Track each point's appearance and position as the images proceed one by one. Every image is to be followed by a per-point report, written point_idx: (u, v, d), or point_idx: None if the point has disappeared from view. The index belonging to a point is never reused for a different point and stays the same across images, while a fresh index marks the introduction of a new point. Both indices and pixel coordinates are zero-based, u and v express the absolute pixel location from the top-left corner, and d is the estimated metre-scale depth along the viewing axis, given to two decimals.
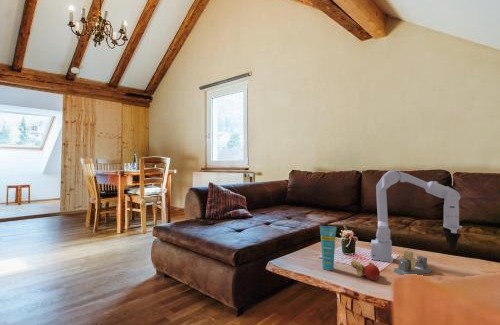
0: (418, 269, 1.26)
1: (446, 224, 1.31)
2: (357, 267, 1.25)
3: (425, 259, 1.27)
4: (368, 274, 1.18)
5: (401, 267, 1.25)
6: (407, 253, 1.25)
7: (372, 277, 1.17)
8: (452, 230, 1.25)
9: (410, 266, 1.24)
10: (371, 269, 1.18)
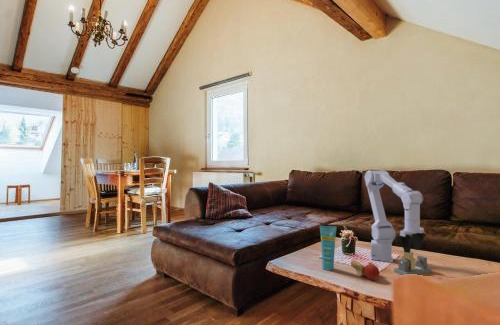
0: (418, 269, 1.26)
1: None
2: (357, 267, 1.25)
3: (425, 259, 1.27)
4: (368, 274, 1.18)
5: (401, 267, 1.25)
6: (407, 253, 1.25)
7: (372, 277, 1.17)
8: (400, 233, 1.23)
9: (410, 266, 1.24)
10: (370, 269, 1.18)
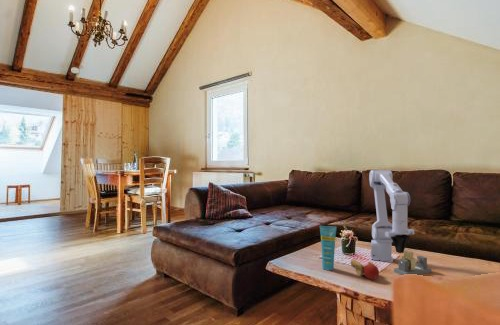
0: (418, 269, 1.26)
1: (392, 228, 1.25)
2: (356, 267, 1.25)
3: (425, 259, 1.27)
4: (367, 274, 1.18)
5: (401, 267, 1.25)
6: (407, 253, 1.25)
7: (371, 276, 1.17)
8: (385, 233, 1.22)
9: (410, 266, 1.24)
10: (370, 268, 1.18)
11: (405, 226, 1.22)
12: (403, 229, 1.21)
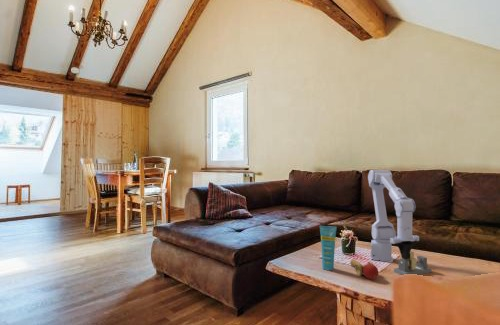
0: (418, 269, 1.26)
1: (397, 235, 1.26)
2: (356, 266, 1.26)
3: (425, 259, 1.27)
4: (366, 273, 1.18)
5: (401, 267, 1.25)
6: None
7: (371, 276, 1.18)
8: (390, 240, 1.23)
9: (410, 266, 1.24)
10: (369, 268, 1.18)
11: (410, 233, 1.23)
12: (408, 236, 1.22)
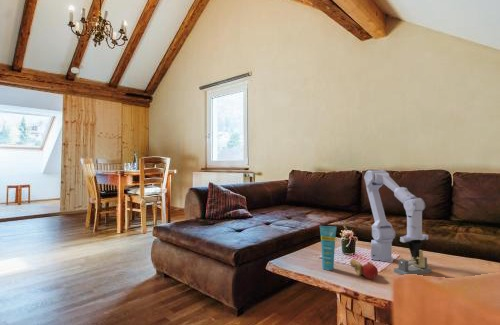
0: (418, 269, 1.26)
1: (407, 234, 1.28)
2: (355, 266, 1.26)
3: (425, 259, 1.27)
4: (366, 273, 1.18)
5: (401, 267, 1.25)
6: None
7: (370, 276, 1.18)
8: (400, 239, 1.25)
9: (420, 264, 1.26)
10: (368, 268, 1.18)
11: (420, 231, 1.25)
12: (418, 234, 1.24)
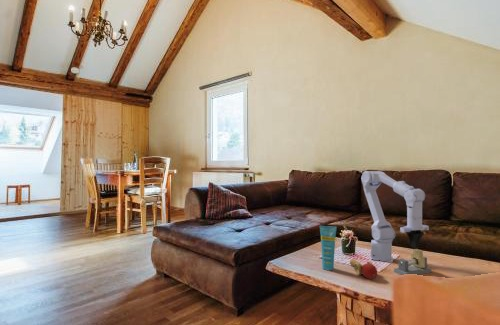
0: (418, 269, 1.26)
1: (407, 224, 1.29)
2: (355, 266, 1.26)
3: (425, 259, 1.27)
4: (365, 273, 1.19)
5: (401, 267, 1.25)
6: (416, 252, 1.27)
7: (370, 276, 1.18)
8: (400, 229, 1.26)
9: (420, 264, 1.26)
10: (368, 268, 1.19)
11: (420, 222, 1.25)
12: (418, 225, 1.25)
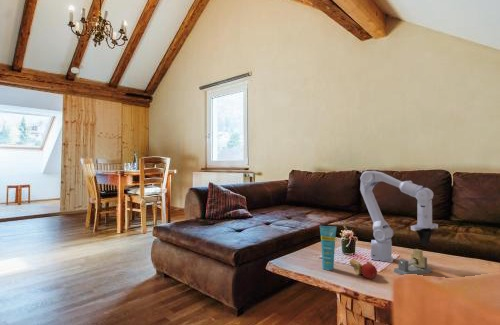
0: (418, 269, 1.26)
1: (417, 223, 1.32)
2: (355, 266, 1.26)
3: (425, 259, 1.27)
4: (365, 273, 1.19)
5: (401, 267, 1.25)
6: (416, 252, 1.27)
7: (369, 275, 1.18)
8: (411, 227, 1.29)
9: (420, 264, 1.26)
10: (367, 268, 1.19)
11: (430, 220, 1.28)
12: (428, 223, 1.28)
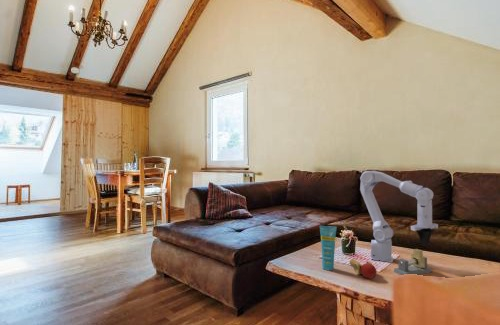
0: (418, 269, 1.26)
1: (417, 223, 1.32)
2: (354, 266, 1.26)
3: (425, 259, 1.27)
4: (364, 273, 1.19)
5: (401, 267, 1.25)
6: (416, 252, 1.27)
7: (369, 275, 1.18)
8: (411, 227, 1.29)
9: (420, 264, 1.26)
10: (367, 268, 1.19)
11: (430, 220, 1.28)
12: (428, 223, 1.28)
